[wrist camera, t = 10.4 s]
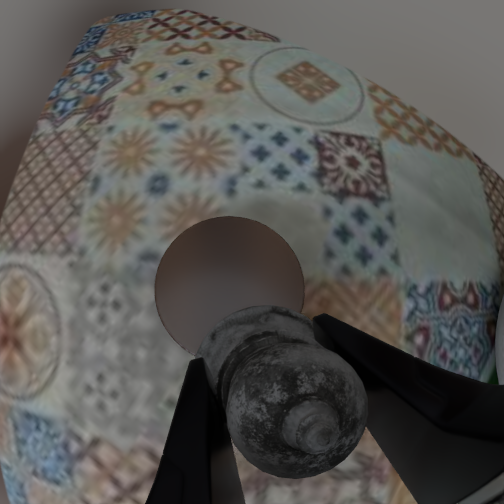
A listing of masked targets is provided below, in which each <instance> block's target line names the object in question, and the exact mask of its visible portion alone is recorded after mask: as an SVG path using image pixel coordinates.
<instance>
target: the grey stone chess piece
mask: <svg viewBox="0 0 504 504" xmlns="http://www.w3.org/2000/svg"><path fill="white" fill-rule="evenodd" d="M200 357H203V358H204V359H205V361H206V363H207V365H208V367H209V369H210V371H211V374H212V376H213V379H214V382H215V385H216V386H215V392H216V398H217V401H218V404H219V407H220V410H221V413H222V416H223V420H224V422H225V423H226V425H227V426H228V430H229V432H230V436H231V437H232V440H233V442H234V445H235V446H236V447H237V448H238V450H239V451H240V452H241V453H242V455H243V456H244V457H245V458H246V459H247V460H248V461H249V462H250V463H251V464H253V465H254V466H256V467H257V468H258V469H260V470H261V471H263V472H266V473H269V474H271V475H274V476H277V477H282V478H293V479H299V478H306V477H312V476H316V475H318V474H321V473H323V472H326V471H328V470H331V469H332V468H334V467H335V466H336V465H338V464H339V463H341V462H342V461H343V460H345V459H346V458H347V457H348V455H349V454H350V453H351V452H352V451H353V450H354V449H355V447H356V446H357V444H358V442H359V440H360V439H361V437H362V435H363V433H364V430H365V426H366V422H367V417H368V398H367V395H366V392H365V389H364V385H363V382H362V381H361V379H360V378H359V376H358V375H357V373H356V372H355V370H354V369H353V368H352V366H351V365H350V364H348V363H347V362H346V361H345V360H344V359H343V358H341V357H340V356H339V355H338V354H336V353H334V352H332V351H330V350H328V349H325V348H324V347H323V346H321V345H320V344H319V343H318V342H317V341H315V338H314V331H313V322H312V321H311V320H310V319H309V318H307V317H306V316H304V315H302V314H300V313H298V312H296V311H294V310H292V309H289V308H284V307H279V306H274V305H264V306H251V307H248V308H245V309H242V310H239V311H236V312H233V313H232V314H230V315H229V316H227V317H226V318H224V319H222V320H221V321H219V322H218V323H217V324H216V325H215V326H214V327H213V328H212V329H211V330H210V332H209V333H208V334H207V335H206V336H205V337H204V339H203V341H202V343H201V345H200V347H199V349H198V351H197V353H196V357H195V359H196V358H200Z"/></svg>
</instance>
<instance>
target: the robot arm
mask: <svg viewBox="0 0 504 504" xmlns="http://www.w3.org/2000/svg"><path fill="white" fill-rule="evenodd" d="M312 321H313V331H314V338H315V341H317V342H318V343H319V344H320V345H321V346H323V347H324V348H325V349H328V350H330V351H332V352H334V353H336V354H338V355H339V356H340V357H341V358H343V359H344V360H345V361H346V362H347V363H348V364H350V365H351V366H352V368H353V369H354V370H355V372H356V373H357V375H358V376H359V378H360V379H361V381H362V382H363V385H364V389H365V392H366V395H367V398H368V417H367V422H366V427H367V428H368V430H369V431H370V433H371V434H372V436H373V437H374V439H375V440H376V442H377V443H378V445H379V446H380V448H381V449H382V451H383V452H384V454H385V455H386V457H387V458H388V460H389V461H390V463H391V464H392V466H393V467H394V469H395V470H396V472H397V473H398V474H399V476H400V478H401V479H402V481H403V482H404V484H405V485H406V487H407V488H408V490H409V491H410V493H411V494H412V496H413V497H414V499H415V500H416V502H417V503H418V504H457V503H458V504H504V385H493V384H488V383H484V382H481V381H477V380H474V379H471V378H468V377H465V376H462V375H459V374H456V373H453V372H450V371H447V370H445V369H442V368H439V367H437V366H434V365H432V364H430V363H428V362H425V361H423V360H421V359H419V358H417V357H414V356H412V355H410V354H408V353H406V352H404V351H402V350H400V349H398V348H396V347H394V346H391V345H389V344H387V343H385V342H383V341H381V340H379V339H377V338H375V337H373V336H371V335H369V334H367V333H365V332H363V331H361V330H358V329H356V328H354V327H352V326H350V325H348V324H346V323H344V322H342V321H340V320H338V319H336V318H334V317H332V316H330V315H328V314H326V313H323V314H320V315H318V316H315V317H314V318H313V320H312ZM215 386H216V385H215V382H214V379H213V376H212V374H211V371H210V369H209V367H208V365H207V363H206V361H205V359H204V358H203V357H200V358H196V359H193V360H191V361H190V362H189V366H188V369H187V372H186V375H185V379H184V382H183V385H182V389H181V392H180V395H179V399H178V402H177V405H176V409H175V412H174V416H173V419H172V422H171V426H170V429H169V433H168V436H167V440H166V443H165V447H164V450H163V454H164V455H162V457H161V461H160V464H159V468H158V471H157V474H156V477H155V480H154V483H153V485H152V488H151V490H150V493H149V496H148V498H147V500H146V503H145V504H246V503H245V499H244V495H243V491H242V487H241V482H240V478H239V474H238V469H237V465H236V460H235V456H234V451H233V446H232V442H231V437H230V432H229V430H228V426H227V425H226V423H225V422H224V420H223V416H222V413H221V410H220V407H219V404H218V401H217V398H216V392H215Z"/></svg>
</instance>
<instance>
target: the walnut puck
mask: <svg viewBox="0 0 504 504" xmlns="http://www.w3.org/2000/svg"><path fill="white" fill-rule="evenodd" d="M155 301H156V307H157V310H158V313H159V316H160V319H161V321H162V323H163V325H164V327H165V328H166V330H167V331H168V333H169V334H170V335H171V337H172V338H173V339H174V340H175V341H176V342H177V343H178V344H179V345H180V346H181V347H182V348H184V349H185V350H187V351H188V352H189V353H191V354H193V355H195V356H196V353H197V351H198V349H199V347H200V345H201V343H202V341H203V339H204V337H205V336H206V335H207V334H208V333H209V332H210V330H211V329H212V328H213V327H214V326H215V325H216V324H217V323H218V322H219V321H221V320H222V319H224V318H226V317H227V316H229V315H230V314H232V313H233V312H236V311H239V310H242V309H245V308H248V307H251V306H264V305H274V306H279V307H284V308H289V309H292V310H294V311H296V312H298V313H300V314H301V311H302V307H303V302H304V278H303V274H302V270H301V267H300V264H299V261H298V259H297V257H296V255H295V254H294V252H293V250H292V249H291V247H290V246H289V245H288V243H287V242H286V241H285V240H284V239H283V238H282V237H281V236H280V235H279V234H277V233H276V232H275V231H274V230H272V229H270V228H269V227H267V226H266V225H264V224H261V223H259V222H257V221H254V220H251V219H247V218H242V217H233V216H226V217H217V218H211V219H208V220H205V221H202V222H200V223H197V224H195V225H193V226H192V227H190V228H188V229H187V230H185V231H184V232H183V233H182V234H180V235H179V236H178V237H177V238H176V239H175V240H174V241H173V242H172V243H171V245H170V246H169V247H168V249H167V250H166V252H165V254H164V255H163V257H162V259H161V261H160V264H159V267H158V270H157V274H156V279H155Z"/></svg>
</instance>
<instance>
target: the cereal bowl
mask: <svg viewBox="0 0 504 504" xmlns="http://www.w3.org/2000/svg"><path fill="white" fill-rule="evenodd" d="M495 335H496V338H495V359H496V369H497V375H498V380H499V385H504V295H503V298H502V302H501V305H500V309H499V313H498V320H497V328H496V334H495Z"/></svg>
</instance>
